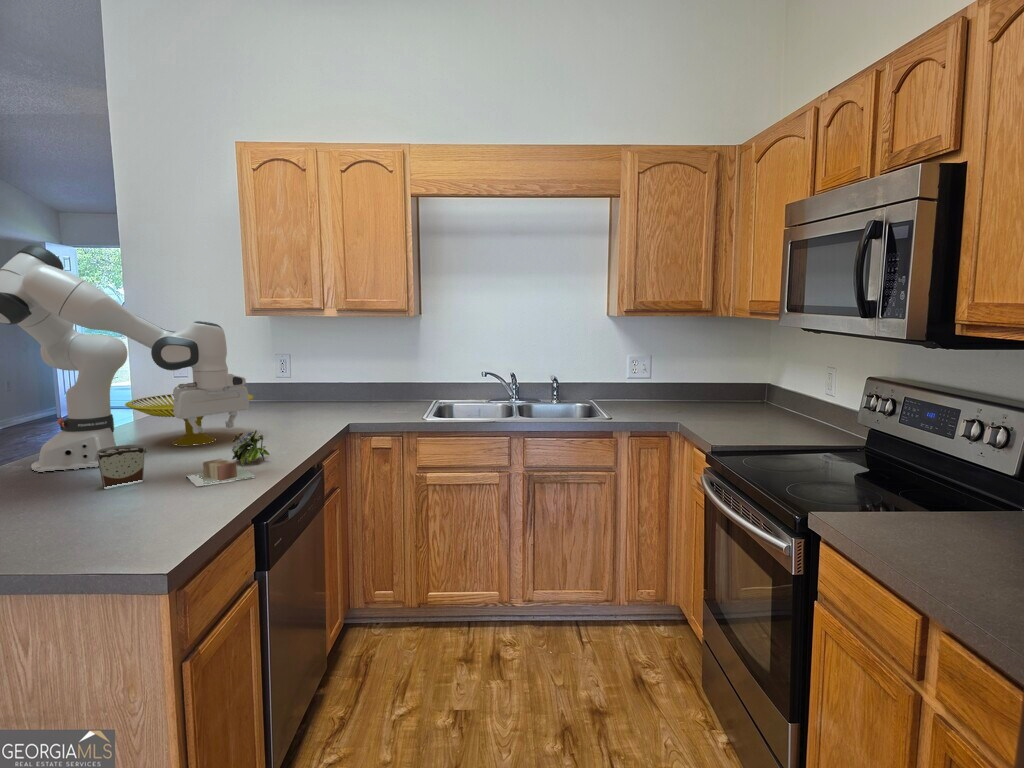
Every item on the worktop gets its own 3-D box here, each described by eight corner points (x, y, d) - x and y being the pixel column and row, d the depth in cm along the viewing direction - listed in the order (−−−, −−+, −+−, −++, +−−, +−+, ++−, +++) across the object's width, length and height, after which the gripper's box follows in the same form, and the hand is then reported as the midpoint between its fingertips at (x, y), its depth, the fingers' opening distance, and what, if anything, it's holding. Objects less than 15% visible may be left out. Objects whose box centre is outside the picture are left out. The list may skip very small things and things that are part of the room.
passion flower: (240, 477, 200) (238, 442, 205) (275, 470, 202) (272, 435, 207) (226, 465, 190) (224, 429, 195) (264, 457, 191) (261, 421, 197)
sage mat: (196, 487, 171) (196, 485, 171) (185, 477, 181) (185, 475, 181) (255, 478, 180) (255, 476, 180) (241, 468, 190) (241, 466, 190)
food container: (140, 477, 181) (137, 442, 179) (149, 481, 177) (146, 445, 176) (90, 486, 171) (86, 450, 170) (98, 491, 167) (95, 453, 166)
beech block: (203, 476, 180) (220, 480, 175) (202, 462, 179) (219, 466, 174) (220, 472, 184) (236, 476, 179) (219, 458, 183) (236, 462, 179)
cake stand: (207, 458, 203) (204, 411, 201) (98, 452, 211) (94, 406, 209) (278, 432, 242) (276, 393, 240) (183, 428, 250) (181, 390, 248)
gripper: (179, 385, 167) (182, 438, 169) (250, 377, 184) (253, 425, 185) (166, 383, 171) (170, 435, 173) (238, 376, 187) (240, 423, 189)
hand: (213, 430), depth 179 cm, fingers open, 8 cm apart
